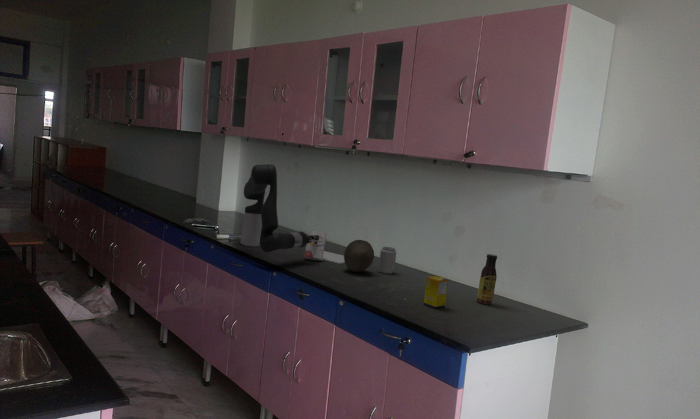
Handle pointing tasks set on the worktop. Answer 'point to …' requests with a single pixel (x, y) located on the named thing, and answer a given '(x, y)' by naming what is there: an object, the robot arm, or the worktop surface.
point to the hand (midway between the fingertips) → (317, 237)
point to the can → (387, 260)
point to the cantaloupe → (358, 255)
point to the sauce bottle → (487, 281)
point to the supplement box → (435, 291)
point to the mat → (333, 257)
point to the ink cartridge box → (316, 247)
